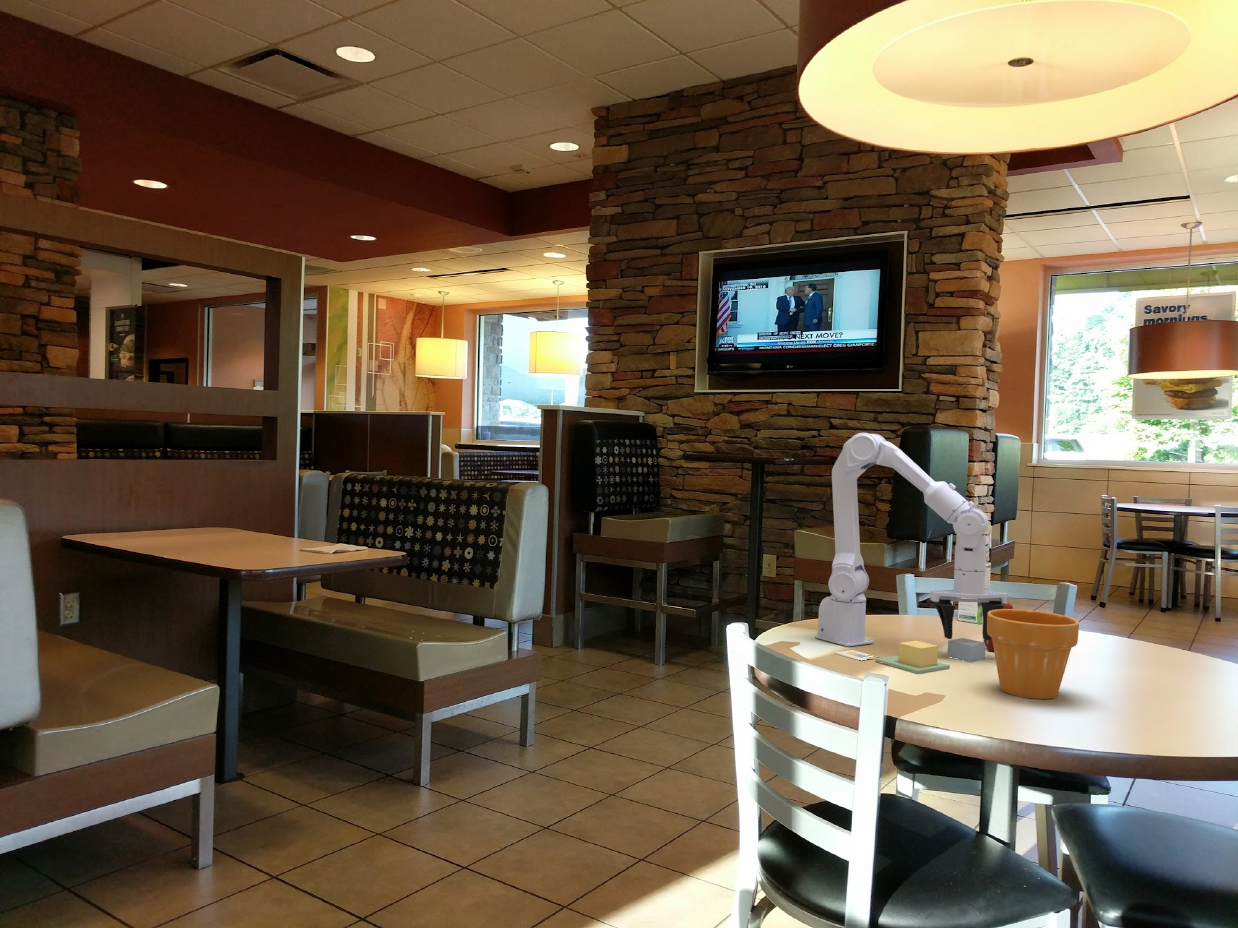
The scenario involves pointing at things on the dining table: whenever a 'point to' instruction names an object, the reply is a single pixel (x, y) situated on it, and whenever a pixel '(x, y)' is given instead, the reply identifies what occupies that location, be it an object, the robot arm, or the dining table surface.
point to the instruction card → (854, 654)
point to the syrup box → (974, 604)
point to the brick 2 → (966, 649)
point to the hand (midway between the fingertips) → (967, 638)
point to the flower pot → (1031, 650)
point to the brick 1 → (918, 653)
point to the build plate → (894, 662)
